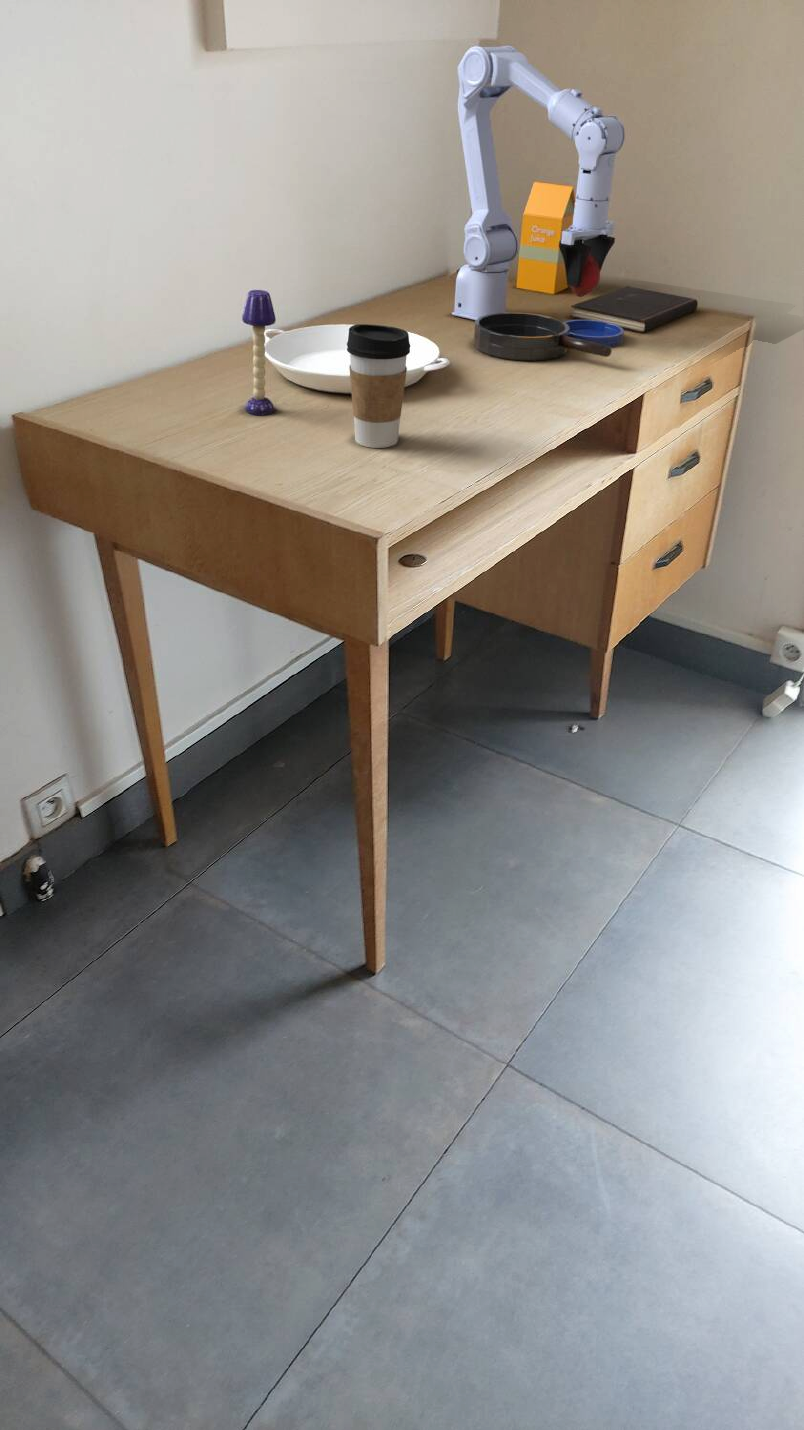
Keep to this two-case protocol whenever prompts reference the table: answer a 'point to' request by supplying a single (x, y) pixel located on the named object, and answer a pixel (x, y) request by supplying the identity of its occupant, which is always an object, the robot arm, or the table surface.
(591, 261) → the onion
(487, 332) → the frying pan
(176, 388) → the table surface
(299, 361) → the pan
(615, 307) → the hardcover book
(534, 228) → the orange juice
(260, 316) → the toy lamp
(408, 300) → the table surface
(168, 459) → the table surface
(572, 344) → the pan handle
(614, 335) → the saucer
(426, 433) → the table surface
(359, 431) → the coffee cup
